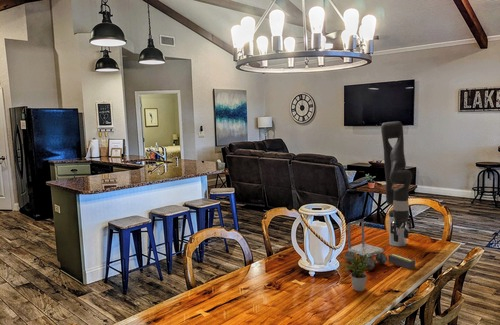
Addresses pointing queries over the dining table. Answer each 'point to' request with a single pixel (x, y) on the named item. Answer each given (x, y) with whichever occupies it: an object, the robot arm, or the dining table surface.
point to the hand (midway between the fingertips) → (401, 239)
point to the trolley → (364, 249)
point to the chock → (402, 261)
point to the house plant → (358, 272)
